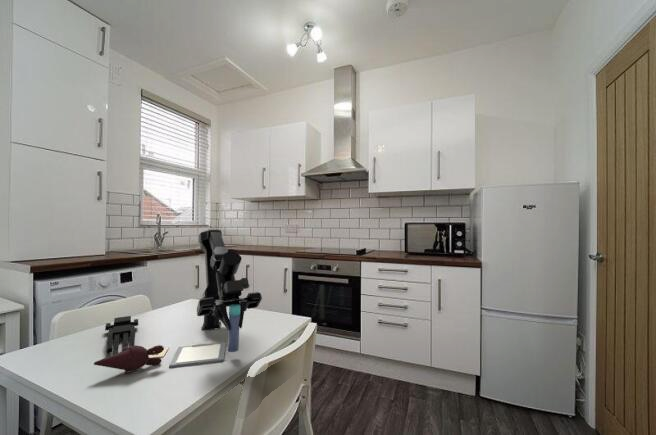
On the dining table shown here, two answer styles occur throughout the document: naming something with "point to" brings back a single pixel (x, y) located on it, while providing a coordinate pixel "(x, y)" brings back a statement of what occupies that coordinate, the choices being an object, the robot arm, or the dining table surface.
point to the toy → (120, 333)
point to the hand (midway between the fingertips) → (235, 328)
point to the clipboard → (198, 354)
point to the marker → (234, 328)
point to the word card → (160, 354)
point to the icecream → (132, 358)
